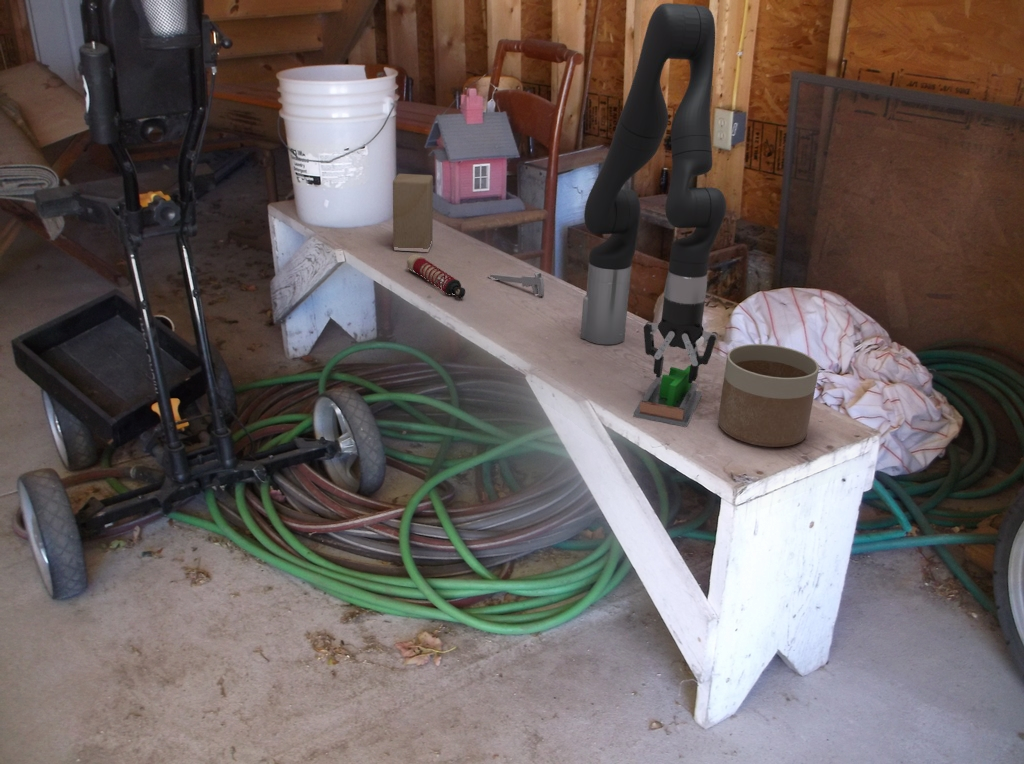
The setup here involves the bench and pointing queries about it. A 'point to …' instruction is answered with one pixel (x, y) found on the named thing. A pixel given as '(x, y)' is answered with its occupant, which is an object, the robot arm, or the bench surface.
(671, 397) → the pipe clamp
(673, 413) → the steel channel
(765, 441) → the planter
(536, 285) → the caliper
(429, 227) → the wooden block
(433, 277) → the shock absorber
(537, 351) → the bench surface
